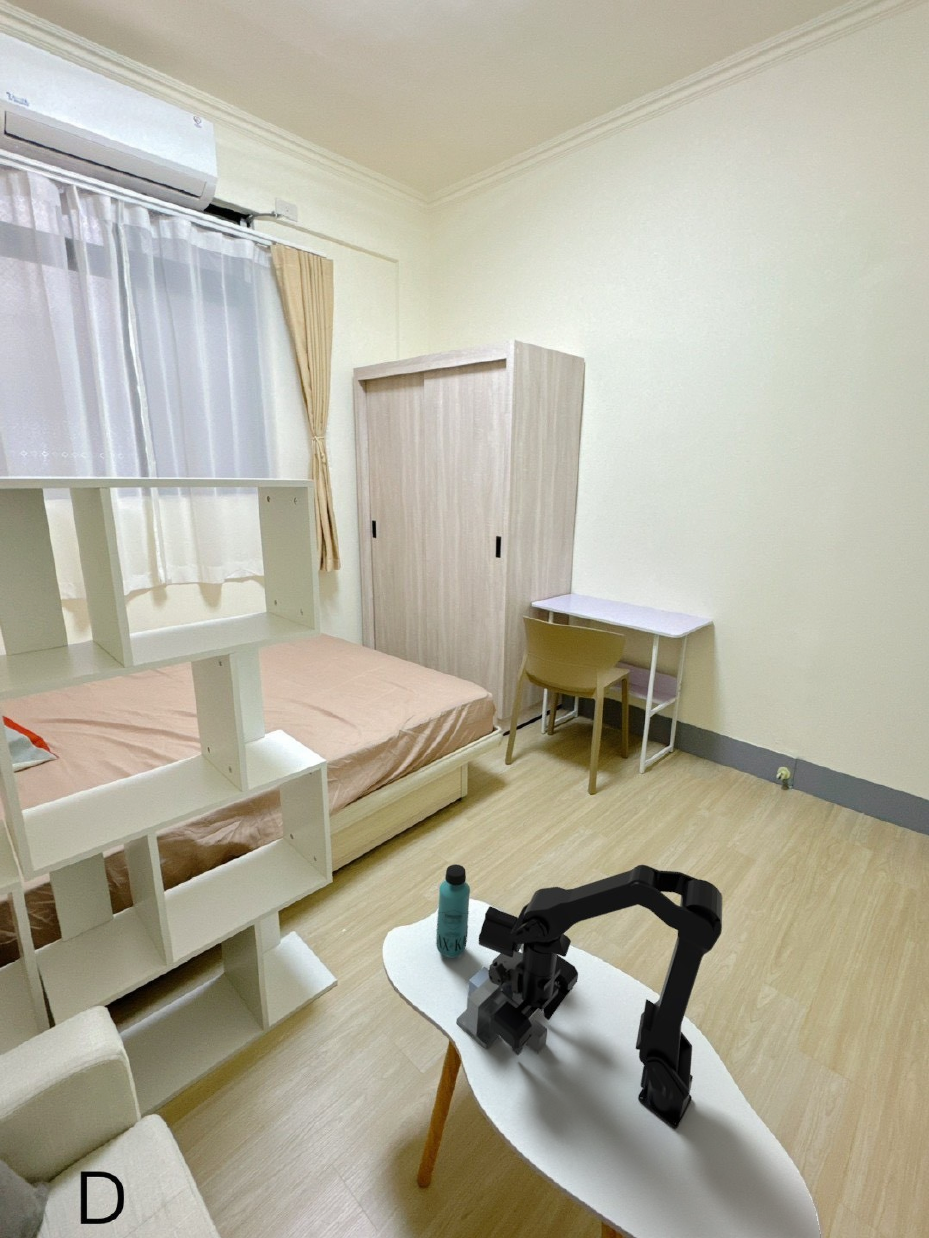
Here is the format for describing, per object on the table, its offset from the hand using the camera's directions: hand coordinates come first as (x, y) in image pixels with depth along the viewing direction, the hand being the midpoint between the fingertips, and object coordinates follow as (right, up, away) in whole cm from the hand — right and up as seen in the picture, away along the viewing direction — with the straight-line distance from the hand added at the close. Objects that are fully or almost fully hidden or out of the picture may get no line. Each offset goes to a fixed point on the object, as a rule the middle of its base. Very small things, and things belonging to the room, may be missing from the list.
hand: (531, 1034), depth 102 cm
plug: (-5, 0, +4) cm, 6 cm away
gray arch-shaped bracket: (-6, 0, +6) cm, 8 cm away
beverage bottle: (-15, +4, +18) cm, 24 cm away
